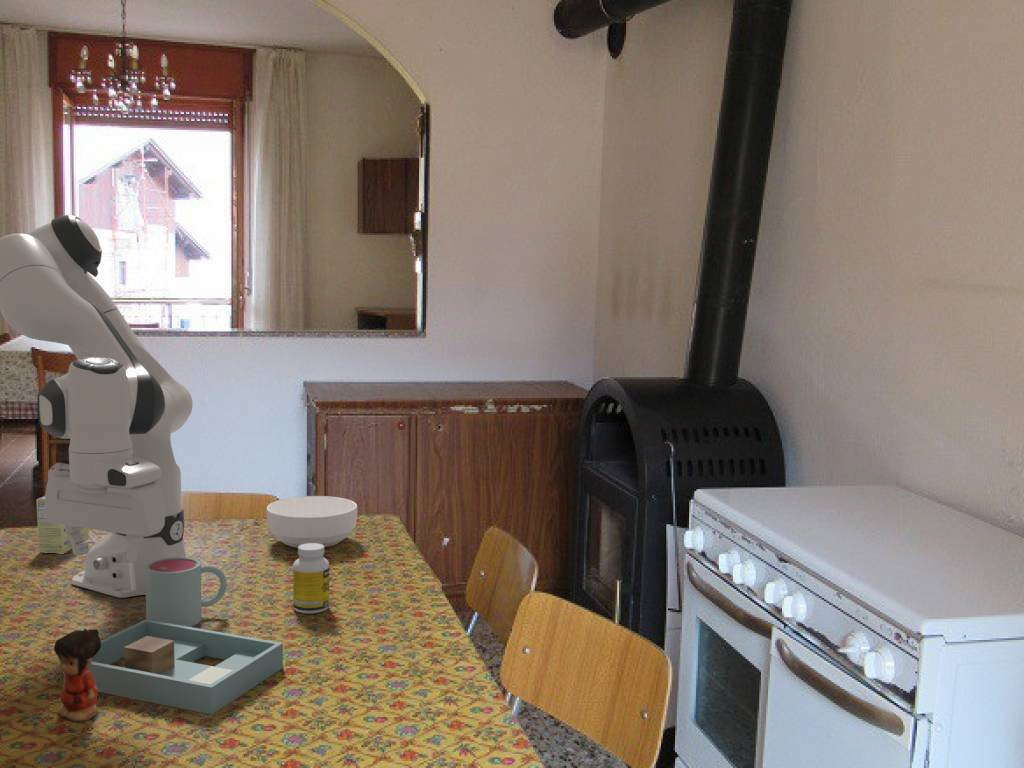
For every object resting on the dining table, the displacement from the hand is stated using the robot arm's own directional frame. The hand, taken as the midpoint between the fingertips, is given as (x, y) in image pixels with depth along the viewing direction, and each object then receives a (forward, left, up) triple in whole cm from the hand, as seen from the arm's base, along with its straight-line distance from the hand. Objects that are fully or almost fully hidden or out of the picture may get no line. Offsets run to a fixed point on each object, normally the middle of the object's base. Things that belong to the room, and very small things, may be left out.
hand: (104, 557), depth 156 cm
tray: (+10, +3, -18) cm, 21 cm away
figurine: (+6, -13, -18) cm, 23 cm away
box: (-55, +49, -18) cm, 76 cm away
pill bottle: (+13, +37, -18) cm, 43 cm away
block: (+8, -1, -16) cm, 18 cm away
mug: (-4, +24, -18) cm, 30 cm away
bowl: (-9, +74, -18) cm, 77 cm away
